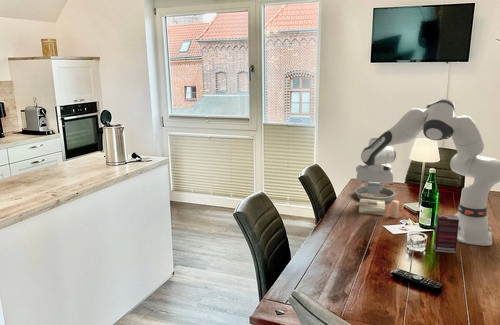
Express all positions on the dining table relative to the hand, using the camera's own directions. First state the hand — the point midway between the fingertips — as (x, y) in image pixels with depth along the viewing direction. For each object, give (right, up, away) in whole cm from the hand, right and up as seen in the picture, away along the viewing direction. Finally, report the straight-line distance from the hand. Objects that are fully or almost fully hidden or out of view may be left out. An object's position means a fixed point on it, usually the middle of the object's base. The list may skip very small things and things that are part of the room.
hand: (374, 189), depth 225 cm
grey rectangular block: (0, -2, 0) cm, 2 cm away
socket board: (-1, -12, +2) cm, 13 cm away
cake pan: (+8, -8, +24) cm, 27 cm away
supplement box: (+16, -24, -49) cm, 57 cm away
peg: (+8, -15, -9) cm, 19 cm away
